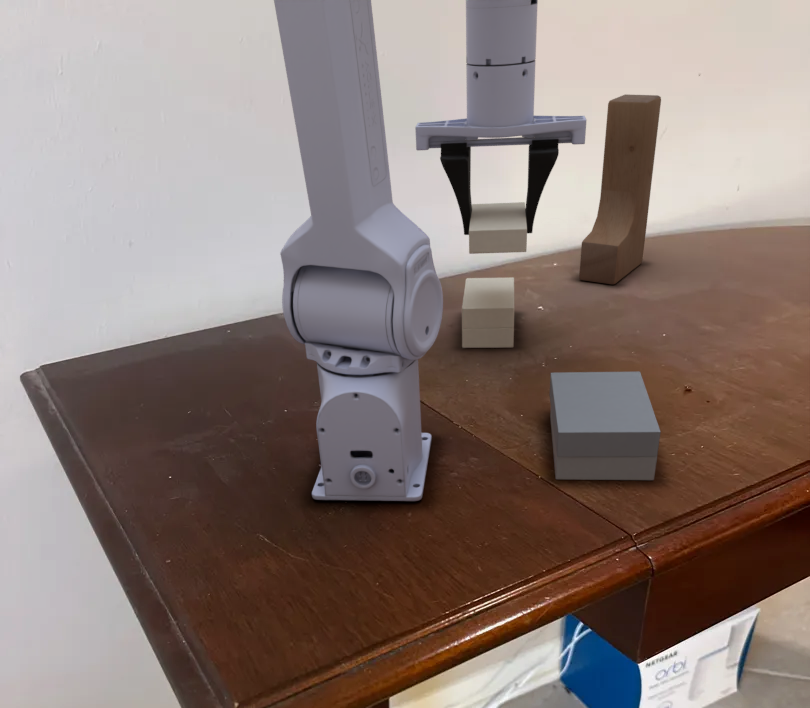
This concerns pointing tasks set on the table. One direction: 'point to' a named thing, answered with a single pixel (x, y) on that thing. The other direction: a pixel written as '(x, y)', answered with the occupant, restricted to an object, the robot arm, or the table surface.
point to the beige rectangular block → (498, 228)
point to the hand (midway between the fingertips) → (498, 231)
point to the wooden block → (623, 190)
